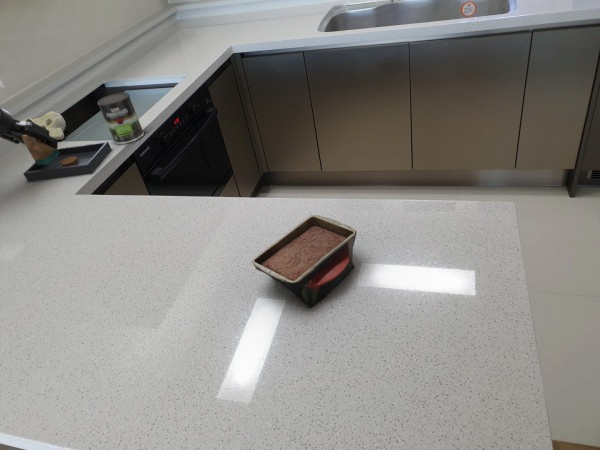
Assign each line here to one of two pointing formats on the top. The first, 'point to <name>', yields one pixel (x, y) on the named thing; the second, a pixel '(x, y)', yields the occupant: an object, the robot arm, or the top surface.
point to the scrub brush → (40, 150)
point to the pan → (86, 164)
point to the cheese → (51, 124)
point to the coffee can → (121, 118)
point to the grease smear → (69, 161)
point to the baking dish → (310, 258)
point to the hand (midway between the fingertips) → (49, 145)
